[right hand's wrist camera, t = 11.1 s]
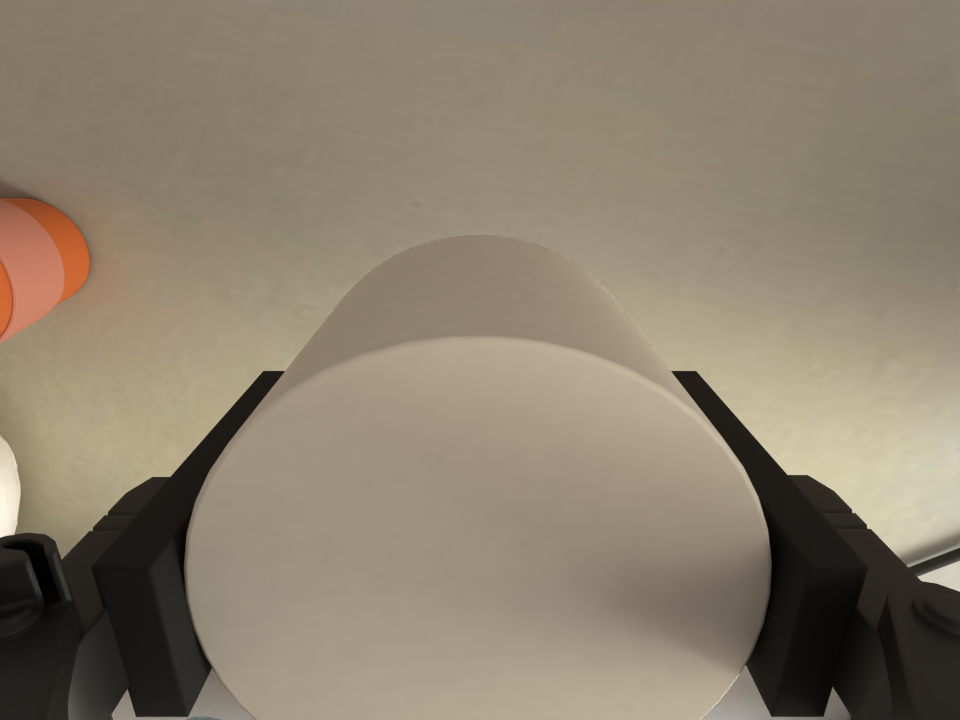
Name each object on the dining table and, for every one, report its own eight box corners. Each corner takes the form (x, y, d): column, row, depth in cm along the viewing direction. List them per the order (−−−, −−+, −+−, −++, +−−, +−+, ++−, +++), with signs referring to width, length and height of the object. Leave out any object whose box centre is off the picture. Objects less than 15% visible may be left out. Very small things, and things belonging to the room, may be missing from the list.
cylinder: (319, 529, 17) (214, 793, 10) (304, 224, 14) (136, 318, 7) (619, 543, 17) (708, 812, 10) (671, 244, 14) (849, 355, 7)
